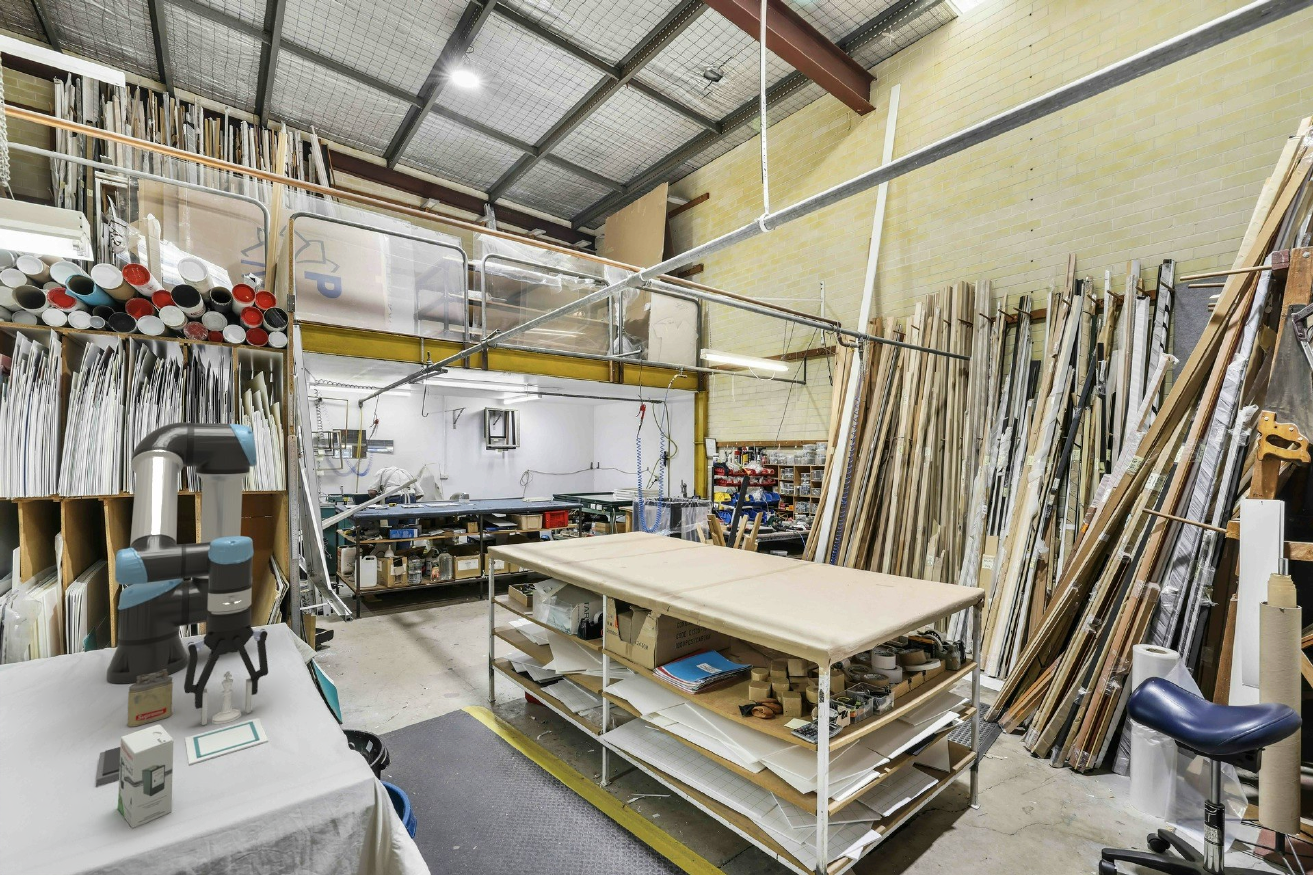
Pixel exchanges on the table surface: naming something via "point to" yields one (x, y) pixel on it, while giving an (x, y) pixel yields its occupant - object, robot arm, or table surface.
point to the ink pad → (108, 766)
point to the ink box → (145, 775)
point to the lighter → (150, 698)
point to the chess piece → (226, 704)
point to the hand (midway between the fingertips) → (226, 715)
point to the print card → (224, 741)
